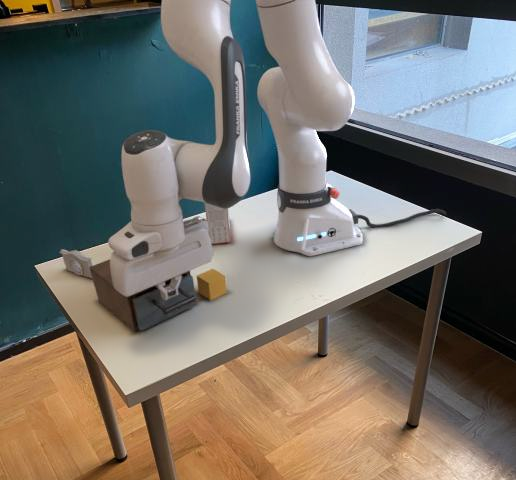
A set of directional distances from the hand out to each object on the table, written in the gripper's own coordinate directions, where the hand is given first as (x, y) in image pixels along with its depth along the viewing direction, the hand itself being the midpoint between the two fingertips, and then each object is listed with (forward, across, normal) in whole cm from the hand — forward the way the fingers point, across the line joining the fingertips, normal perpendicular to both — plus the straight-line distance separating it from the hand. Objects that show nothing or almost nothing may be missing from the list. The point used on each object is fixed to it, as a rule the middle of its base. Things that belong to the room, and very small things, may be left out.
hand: (170, 296), depth 99 cm
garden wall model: (+7, +4, -32) cm, 33 cm away
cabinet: (+7, 0, -11) cm, 13 cm away
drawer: (+6, 0, -6) cm, 9 cm away
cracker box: (+7, -32, -28) cm, 43 cm away
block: (+7, -13, -4) cm, 15 cm away
